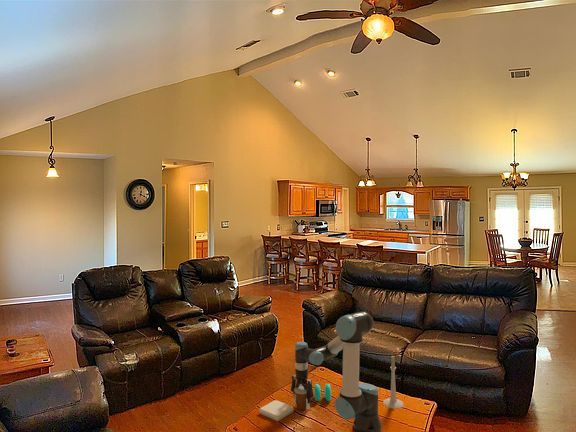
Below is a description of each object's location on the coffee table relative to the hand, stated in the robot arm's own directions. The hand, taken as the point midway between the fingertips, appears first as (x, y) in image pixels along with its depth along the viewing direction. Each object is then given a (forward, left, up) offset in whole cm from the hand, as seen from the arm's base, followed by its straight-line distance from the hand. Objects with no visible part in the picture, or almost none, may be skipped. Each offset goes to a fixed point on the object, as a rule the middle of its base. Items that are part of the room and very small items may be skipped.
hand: (302, 406), depth 246 cm
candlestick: (-41, -38, -1) cm, 56 cm away
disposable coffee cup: (0, 0, -1) cm, 1 cm away
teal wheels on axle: (-4, -16, -1) cm, 17 cm away
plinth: (+8, +14, -1) cm, 16 cm away
